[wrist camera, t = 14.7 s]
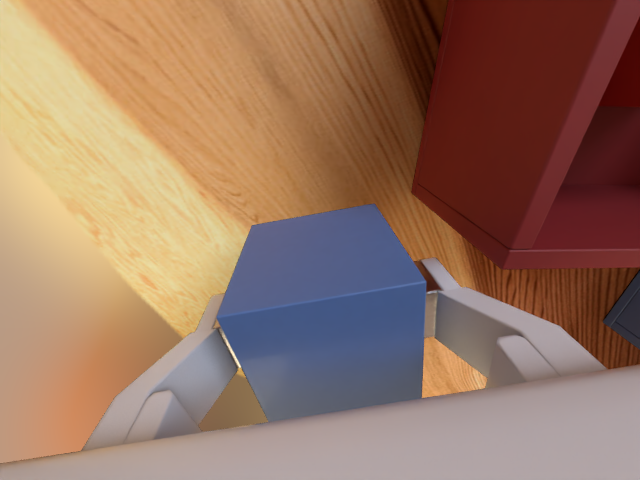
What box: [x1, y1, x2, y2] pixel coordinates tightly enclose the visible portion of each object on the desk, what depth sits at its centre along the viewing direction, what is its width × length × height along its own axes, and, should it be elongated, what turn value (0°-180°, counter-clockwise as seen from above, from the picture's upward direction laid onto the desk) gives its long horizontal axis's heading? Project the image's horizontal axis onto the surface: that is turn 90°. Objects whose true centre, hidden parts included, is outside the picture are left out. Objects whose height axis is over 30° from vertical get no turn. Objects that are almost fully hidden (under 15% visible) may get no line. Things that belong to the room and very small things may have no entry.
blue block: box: [216, 204, 426, 422], centre depth 8 cm, size 4×4×4 cm
